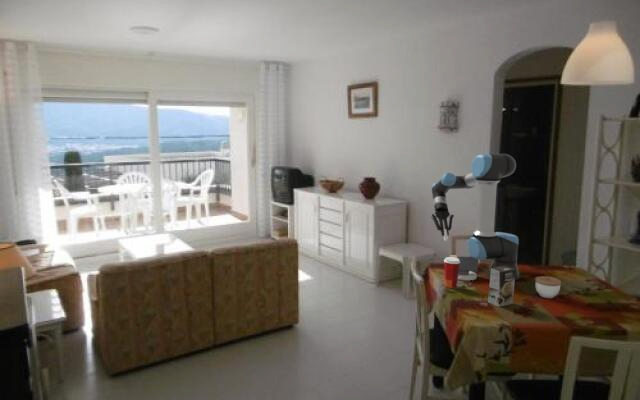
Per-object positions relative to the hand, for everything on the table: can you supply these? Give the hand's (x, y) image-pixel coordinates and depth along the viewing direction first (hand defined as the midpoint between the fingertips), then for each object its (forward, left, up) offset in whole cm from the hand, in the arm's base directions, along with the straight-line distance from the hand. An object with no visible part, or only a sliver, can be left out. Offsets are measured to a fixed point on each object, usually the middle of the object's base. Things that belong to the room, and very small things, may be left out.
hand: (446, 240), depth 252 cm
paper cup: (-17, +28, -16) cm, 36 cm away
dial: (-15, +9, -13) cm, 22 cm away
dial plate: (-15, +9, -15) cm, 23 cm away
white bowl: (-56, +9, -16) cm, 59 cm away
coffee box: (-43, +33, -16) cm, 56 cm away
